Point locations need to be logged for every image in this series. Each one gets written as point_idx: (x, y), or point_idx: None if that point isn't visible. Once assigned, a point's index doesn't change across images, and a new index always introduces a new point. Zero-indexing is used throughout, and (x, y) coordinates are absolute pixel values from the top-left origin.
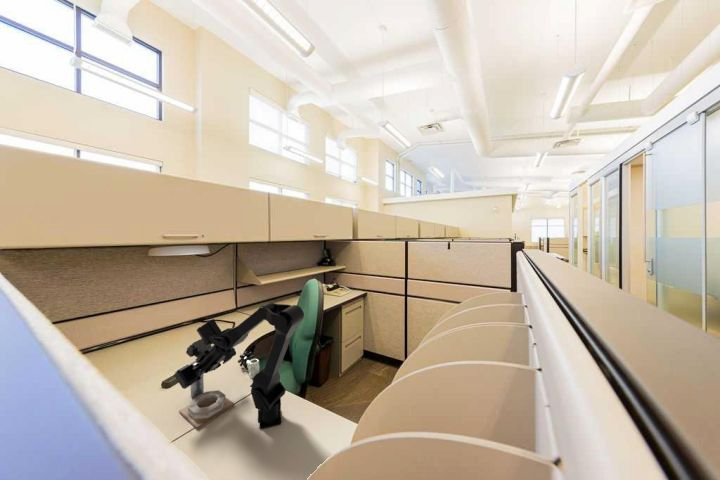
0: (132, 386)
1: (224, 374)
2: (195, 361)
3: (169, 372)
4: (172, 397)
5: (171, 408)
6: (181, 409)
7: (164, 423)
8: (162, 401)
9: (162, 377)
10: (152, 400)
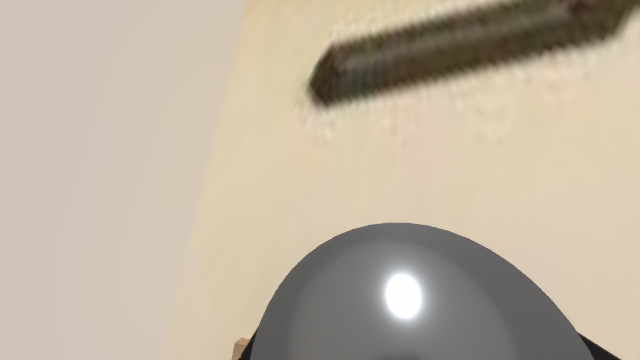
0: (261, 8)
1: (587, 233)
2: (439, 258)
3: (377, 6)
4: (292, 186)
5: (245, 265)
6: (242, 349)
7: (172, 347)
8: (257, 177)
9: (343, 21)
10: (245, 138)
